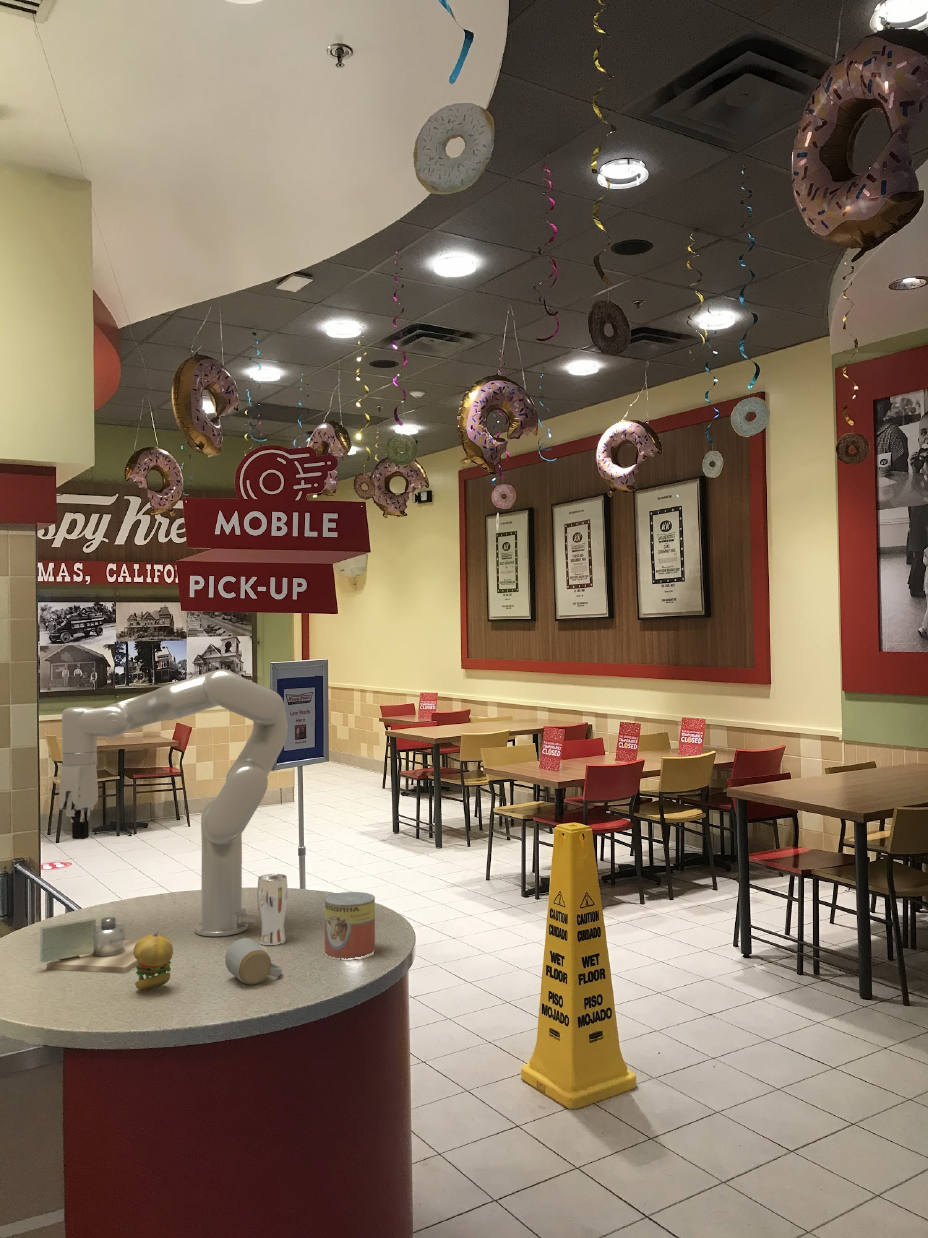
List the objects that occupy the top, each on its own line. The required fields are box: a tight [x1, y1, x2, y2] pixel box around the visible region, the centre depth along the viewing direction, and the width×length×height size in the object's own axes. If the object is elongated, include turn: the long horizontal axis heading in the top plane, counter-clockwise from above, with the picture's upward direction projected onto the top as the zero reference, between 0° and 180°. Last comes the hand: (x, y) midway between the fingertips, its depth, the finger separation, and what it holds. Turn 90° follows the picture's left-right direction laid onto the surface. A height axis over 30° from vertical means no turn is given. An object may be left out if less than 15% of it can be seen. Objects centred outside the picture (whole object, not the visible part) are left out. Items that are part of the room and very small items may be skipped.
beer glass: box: [256, 873, 289, 946], centre depth 220 cm, size 7×7×15 cm
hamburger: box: [133, 931, 174, 991], centre depth 189 cm, size 8×7×12 cm
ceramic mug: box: [224, 937, 283, 986], centre depth 195 cm, size 11×8×8 cm
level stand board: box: [46, 939, 139, 974], centre depth 209 cm, size 18×18×2 cm
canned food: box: [324, 891, 376, 959], centre depth 212 cm, size 11×11×12 cm
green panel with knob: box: [39, 916, 126, 963], centre depth 206 cm, size 18×7×8 cm, turn 128°
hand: (80, 838), depth 222 cm, fingers closed
